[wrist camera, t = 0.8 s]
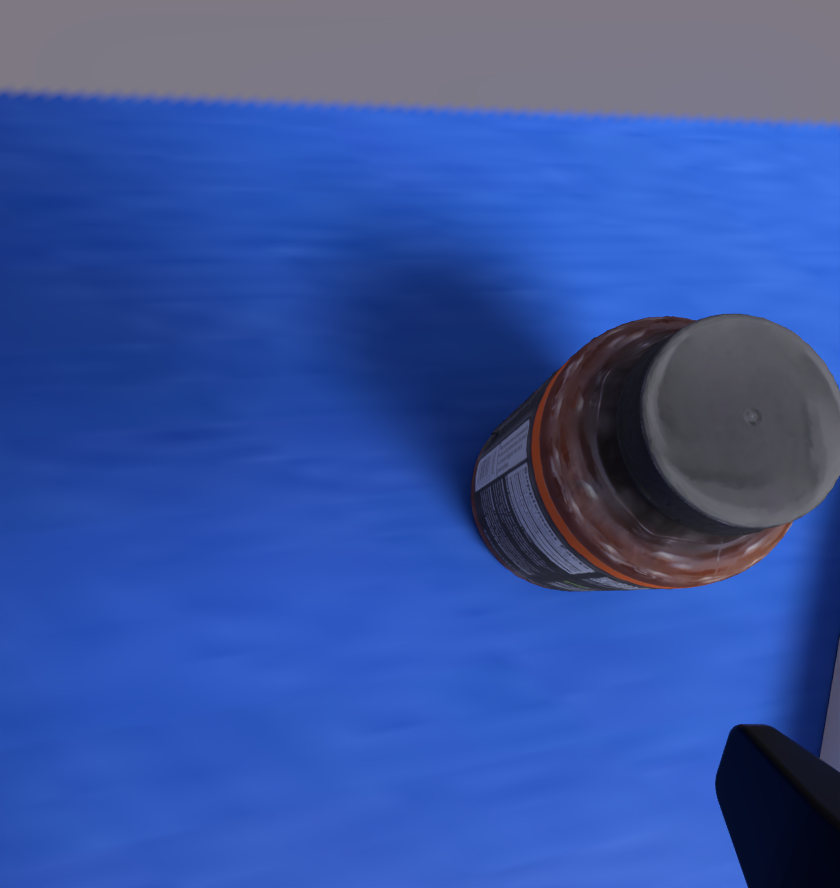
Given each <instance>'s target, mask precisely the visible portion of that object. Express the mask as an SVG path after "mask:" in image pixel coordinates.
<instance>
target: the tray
mask: <svg viewBox="0 0 840 888" xmlns="http://www.w3.org/2000/svg"><path fill="white" fill-rule="evenodd" d="M820 759H821V760H823V761H824V762H826V763H827V764H829V765H830V766H832V767H833V768H835V769H836V770H837V771H839V772H840V639H839V645H838V651H837V657H836V663H835V669H834V675H833V681H832V687H831V693H830V699H829V705H828V711H827V717H826V723H825V729H824V735H823V741H822V747H821V753H820Z"/></svg>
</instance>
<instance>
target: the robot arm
mask: <svg viewBox="0 0 840 888" xmlns="http://www.w3.org/2000/svg"><path fill="white" fill-rule="evenodd" d="M715 787H716V794H717V799H718V802H719V805H720V808H721V811H722V814H723V816H724V819H725V822H726V825H727V828H728V831H729V834H730V837H731V840H732V843H733V845H734V848H735V851H736V854H737V857H738V860H739V863H740V866H741V869H742V872H743V874H744V877H745V880H746V883H747V886H748V888H840V772H839V771H837V770H836V769H835V768H833V767H832V766H830V765H829V764H827V763H826V762H824V761H823V760H821V759H820V758H818V757H817V756H815V755H814V754H812V753H811V752H809V751H808V750H806V749H805V748H803V747H802V746H800V745H799V744H797V743H796V742H794V741H793V740H791V739H790V738H788V737H787V736H785V735H784V734H782V733H781V732H779V731H778V730H776V729H775V728H773V727H771V726H769V725H764V724H739V725H736V726H734V727H733V728H732V730H731V731H730V733H729V736H728V739H727V742H726V745H725V748H724V752H723V755H722V758H721V761H720V764H719V768H718V771H717V774H716V781H715Z"/></svg>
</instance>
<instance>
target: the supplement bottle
mask: <svg viewBox="0 0 840 888" xmlns="http://www.w3.org/2000/svg"><path fill="white" fill-rule="evenodd" d="M839 476H840V391H839V388H838V385H837V384H836V382H835V380H834V377H833V375H832V374H831V372H830V371H829V369H828V367H827V365H826V364H825V362H824V361H823V360H822V359H821V358H820V357H819V355H818V354H817V353H816V352H815V351H814V350H813V348H812V347H811V346H810V345H809V344H807V343H806V342H804V341H803V340H802V339H801V338H800V337H799V336H798V335H797V334H795V333H794V332H792V331H791V330H789V329H787V328H785V327H783V326H781V325H779V324H776V323H774V322H772V321H769V320H767V319H764V318H761V317H755V316H750V315H744V314H721V315H715V316H710V317H707V318H703V319H700V320H697V321H696V320H691V319H687V318H679V317H674V316H672V317H669V316H665V317H648V318H644V319H640V320H636V321H631V322H629V323H626V324H622V325H620V326H617V327H615V328H613V329H610V330H607V331H606V332H605V333H603V334H601V335H600V336H598V337H595V338H593V339H592V340H591V341H590V342H589V343H588V344H586V345H585V346H584V347H583V348H581V349H580V350H579V351H578V352H577V353H576V354H574V355H573V356H571V358H570V359H569V360H568V361H567V362H566V363H565V364H564V365H563V366H562V367H561V368H560V369H558V370H557V371H556V372H554V373H553V374H552V376H551V377H550V378H549V379H547V380H546V381H545V383H543V384H542V385H541V386H540V387H539V388H538V389H537V390H536V391H535V392H534V393H533V394H531V396H530V397H529V398H528V399H527V400H526V401H525V402H524V403H522V404H521V405H520V406H519V407H518V408H517V409H516V410H515V411H514V412H513V413H511V415H510V416H509V417H508V418H507V419H506V420H504V421H503V422H502V423H501V424H500V425H499V426H498V427H497V428H496V429H495V430H494V431H493V433H492V434H491V436H490V438H489V439H488V440H487V442H486V443H485V445H484V446H483V448H482V449H481V452H480V454H479V456H478V458H477V461H476V465H475V468H474V472H473V477H472V483H471V505H472V511H473V515H474V519H475V522H476V525H477V528H478V530H479V533H480V535H481V537H482V539H483V540H484V542H485V544H486V546H487V547H488V549H489V550H490V551H491V552H492V554H493V555H494V556H495V557H496V559H497V560H498V561H499V562H501V563H502V565H503V566H504V567H506V568H507V569H508V570H510V571H511V572H512V573H513V574H515V575H516V576H518V577H520V578H522V579H524V580H526V581H528V582H530V583H532V584H535V585H538V586H541V587H544V588H549V589H554V590H561V591H612V590H640V589H674V588H691V587H697V586H702V585H707V584H711V583H714V582H718V581H722V580H724V579H727V578H730V577H732V576H734V575H737V574H739V573H741V572H743V571H745V570H747V569H748V568H750V567H751V566H753V565H754V564H756V563H758V562H759V561H761V560H762V559H763V558H764V557H765V556H766V555H767V554H768V553H769V552H770V551H771V550H772V549H773V548H774V547H775V546H776V545H777V544H778V542H779V541H780V540H781V539H782V538H783V537H784V535H785V534H786V532H787V531H788V529H789V528H790V527H791V525H792V522H793V521H794V520H796V519H798V518H801V517H802V516H804V515H806V514H807V513H809V512H810V511H812V510H813V509H814V508H815V507H817V506H818V505H819V504H820V503H821V502H822V501H823V500H824V499H825V498H826V496H827V495H828V493H829V492H830V491H831V489H832V488H833V486H834V484H835V483H836V481H837V479H838V478H839Z"/></svg>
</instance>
